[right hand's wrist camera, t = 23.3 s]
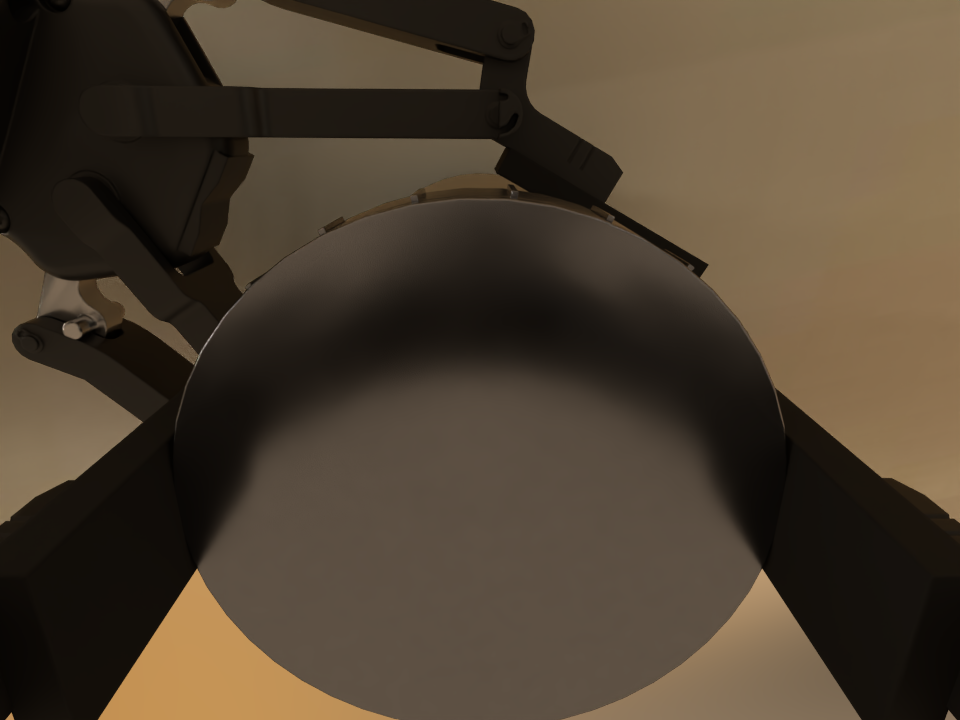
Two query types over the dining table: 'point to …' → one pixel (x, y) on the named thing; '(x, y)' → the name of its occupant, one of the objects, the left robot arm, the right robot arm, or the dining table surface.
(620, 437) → the lid
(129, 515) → the right robot arm
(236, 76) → the dining table surface
